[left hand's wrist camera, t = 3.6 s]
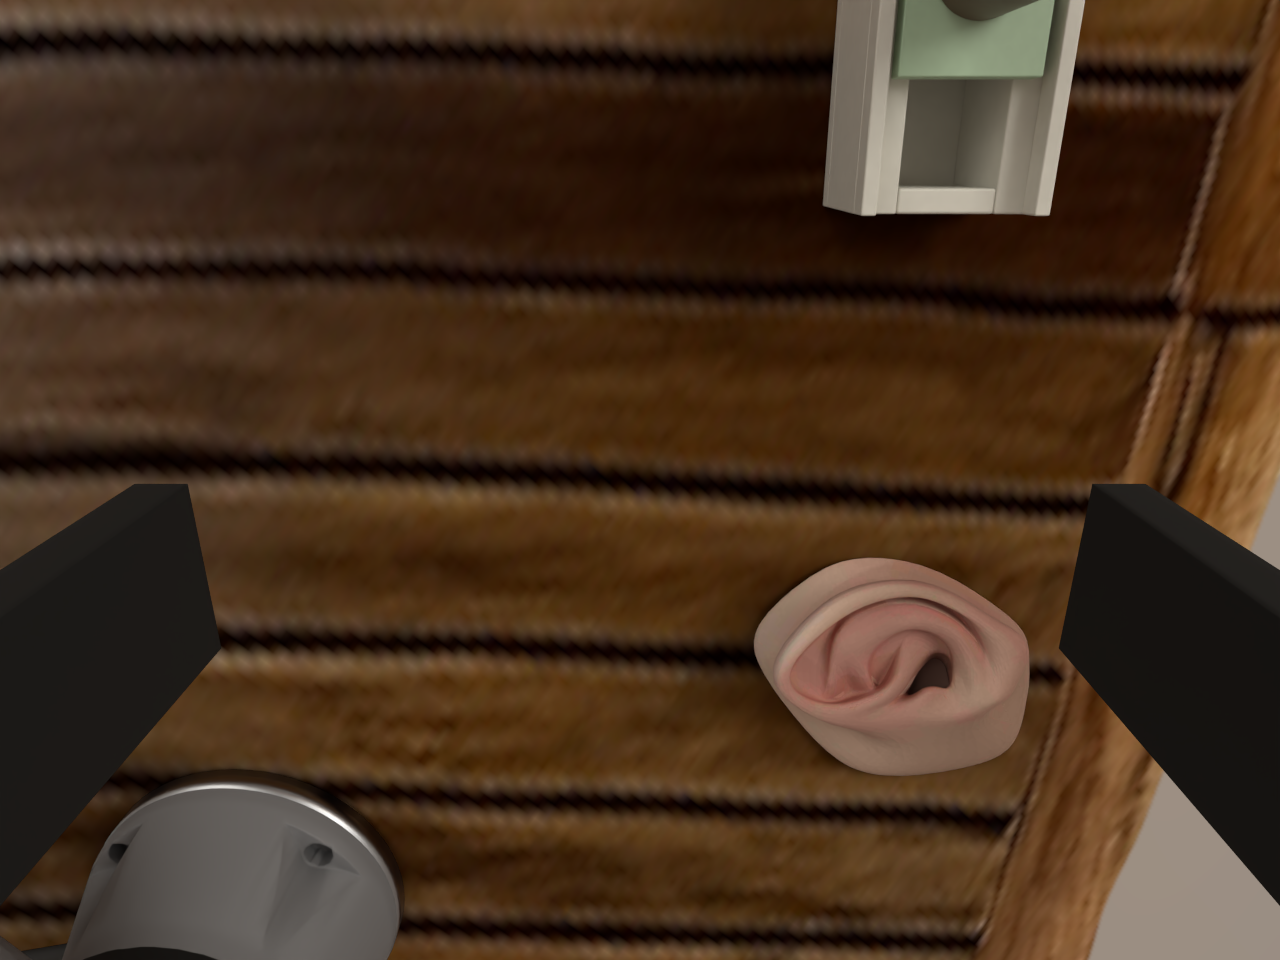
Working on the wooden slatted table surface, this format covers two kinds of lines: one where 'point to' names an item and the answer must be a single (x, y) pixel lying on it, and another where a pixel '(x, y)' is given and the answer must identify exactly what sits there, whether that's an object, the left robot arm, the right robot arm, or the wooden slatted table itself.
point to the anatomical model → (896, 667)
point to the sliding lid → (971, 39)
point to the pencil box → (942, 126)
